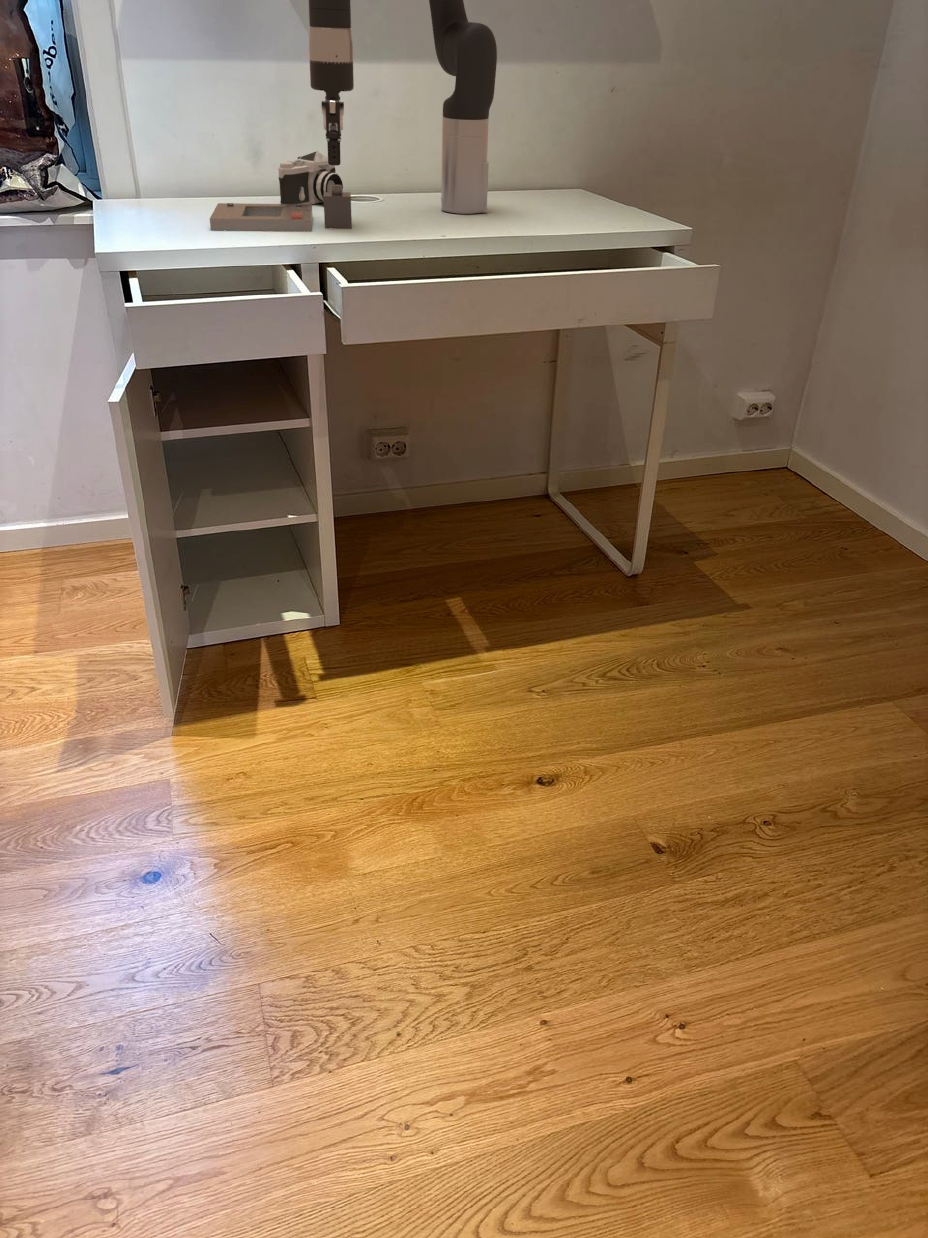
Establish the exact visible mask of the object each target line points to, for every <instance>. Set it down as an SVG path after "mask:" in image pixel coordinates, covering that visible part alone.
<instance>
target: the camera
mask: <svg viewBox="0 0 928 1238" xmlns="http://www.w3.org/2000/svg"><path fill="white" fill-rule="evenodd" d="M277 168H278V169H277V170H278V180H279V183H278V184H279V194H280V203H279V204H312V205H316V204H322V203H323V204H324V198H323V195H324V192H332V191H331V185H342V192H343V189H344V185H343V180H342V178H341V176H340V175H339V174H338V173H336V165H329V164H328V156H326V155H324V154H322V153H321V152H320V151H318V150H317V151H314V152H311V153H308V154H305V155H303V156H297V160H292V161H291V160H289V161H288V160H287V161H282V162H280V163H279V166H278V167H277Z"/></svg>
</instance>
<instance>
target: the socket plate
mask: <svg viewBox="0 0 928 1238" xmlns="http://www.w3.org/2000/svg"><path fill="white" fill-rule="evenodd" d="M313 216H314V215H313V204H281V203H237V202H236V203H235V202H234V203H233V202H227V203H226V202H223V203H221V202H219V203H217V205H216V206H215V208H214V210H213V212H212V214H211V215H210V217H209V225H210V226H209V227H210V231H212V232H213V231H214V232H218V231H219V232H222V231H223V232H225V231H226V232H300V233H301V232H307V233H308V232H310V233H311V232H312V226H313V219H314V217H313ZM224 230H225V231H224Z"/></svg>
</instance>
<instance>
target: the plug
mask: <svg viewBox="0 0 928 1238" xmlns="http://www.w3.org/2000/svg"><path fill="white" fill-rule="evenodd" d="M331 191H332V192H324V195H323V198H324V202H323V216H324V229H329V228H332V229H334V228H335V229H339V230H340V229H342V230H344V229H345V230H346V229H348V230H352V229H353V227H352V226H353V221H352V196H351V192H350V191H349V192H347V191H346V192H345V191H344V192H342V185H331Z"/></svg>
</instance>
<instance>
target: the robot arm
mask: <svg viewBox="0 0 928 1238" xmlns="http://www.w3.org/2000/svg"><path fill="white" fill-rule="evenodd" d="M428 2H429V8H430V9H429V11H430V16H431V17H430V18H431V26H432V34H433V42H434V49H435V55H436V58H437V60H438V61H437V62H438V63H439V65H440V67H441V68H442V70H443V71H444V72H445V73H446V74H448V75H450V76H452V77H455V84H454V91H453V93H452V94H451V95H450V96H449V97H447V98H446V99H445V100H444V101H443V103H442V123H441V124H442V128H441V129H442V132H441V133H442V134H441V192H440V193H441V196H440V201H441V202H440V208H441V211H443V212H447V213H452V214H465V215H467V214H470V215H471V214H480V213H487V212H488V211H487V210H488V192H489V191H488V189H489V188H488V186H489V168H490V167H489V165H490V163H489V161H488V147H489V145H488V144H489V124H490V123H489V122H490V118H489V117H490V108H491V106H492V105H493V104H492V103H493V102H494V96H495V85H496V75H497V63H498V62H497V61H498V48H497V46H498V45H497V40H496V37H495V34H494V32H493V31H492V30H491V28H490V27H489V26H488V25H486V24H484V23H481V22H474V21H473V22H471V21H469V20H468V17H467V12H466V7H465V2H464V0H428ZM351 11H352V10H351V0H308V16H309V17H308V19H309V35H308V52H309V53H308V54H309V57H308V58H309V75H310V82H309V83H310V88H311V89H312V90H314V91H323V92H324V93H325V98H324V99H325V100H323V101H322V100H321V113H322V118H323V119H322V120H323V123H322V125H323V130H324V131H325V139H326V142H327V143H326V144H327V157H328V164H329V165H335V166H340V165H341V140H342V131H343V130H344V121H343V120H344V118H343V117H344V114H345V103H344V101H340V100H341V96H340V93H342V92H351V91H353V90H354V86H355V85H354V82H355V81H354V45H353V37H352V36H353V35H352V18H351V17H352V16H351V15H352V14H351V13H352V12H351Z"/></svg>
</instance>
